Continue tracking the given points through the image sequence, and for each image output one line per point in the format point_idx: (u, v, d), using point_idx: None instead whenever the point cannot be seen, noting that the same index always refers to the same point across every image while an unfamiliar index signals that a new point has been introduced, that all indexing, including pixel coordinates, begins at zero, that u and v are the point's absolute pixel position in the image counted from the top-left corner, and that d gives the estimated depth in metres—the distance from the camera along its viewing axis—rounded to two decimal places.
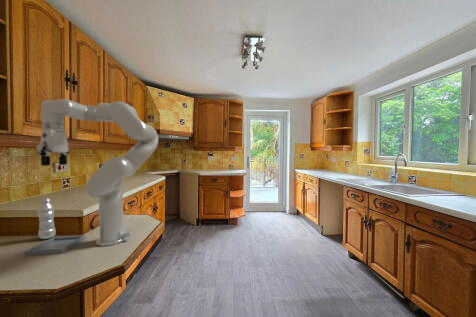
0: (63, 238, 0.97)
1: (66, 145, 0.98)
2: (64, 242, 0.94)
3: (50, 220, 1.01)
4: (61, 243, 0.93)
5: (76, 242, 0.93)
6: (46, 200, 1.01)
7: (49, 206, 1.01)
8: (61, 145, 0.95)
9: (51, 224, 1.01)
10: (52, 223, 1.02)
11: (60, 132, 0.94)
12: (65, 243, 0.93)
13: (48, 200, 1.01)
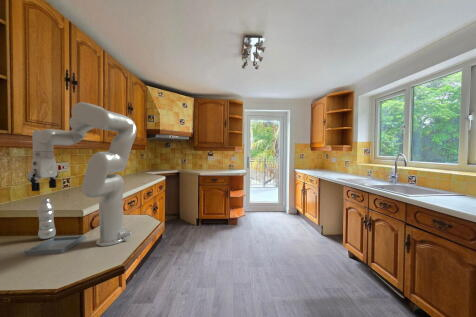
0: (63, 238, 0.97)
1: (55, 170, 1.06)
2: (64, 242, 0.94)
3: (50, 220, 1.01)
4: (61, 243, 0.93)
5: (76, 242, 0.93)
6: (46, 200, 1.01)
7: (49, 206, 1.01)
8: (51, 171, 1.03)
9: (51, 224, 1.01)
10: (52, 223, 1.02)
11: (50, 159, 1.02)
12: (65, 243, 0.93)
13: (48, 200, 1.01)
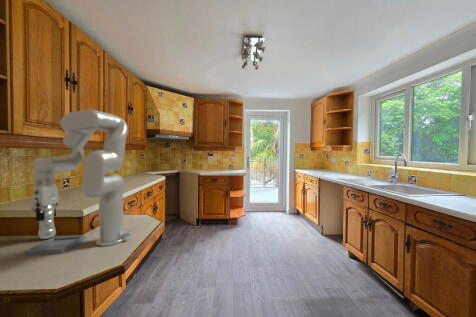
0: (63, 238, 0.97)
1: (57, 196, 1.06)
2: (64, 242, 0.94)
3: (50, 219, 1.01)
4: (61, 243, 0.93)
5: (76, 242, 0.93)
6: None
7: (49, 206, 1.01)
8: (52, 198, 1.03)
9: (51, 224, 1.01)
10: (52, 223, 1.02)
11: (51, 186, 1.02)
12: (65, 243, 0.93)
13: None
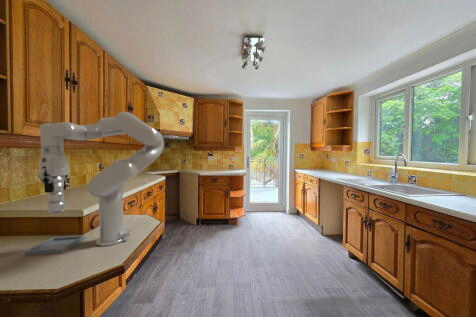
0: (63, 238, 0.97)
1: (67, 167, 0.95)
2: (64, 242, 0.94)
3: (59, 192, 0.91)
4: (61, 243, 0.93)
5: (76, 242, 0.93)
6: None
7: (58, 177, 0.90)
8: (61, 168, 0.92)
9: (61, 197, 0.91)
10: (62, 196, 0.92)
11: (60, 155, 0.92)
12: (65, 243, 0.93)
13: None
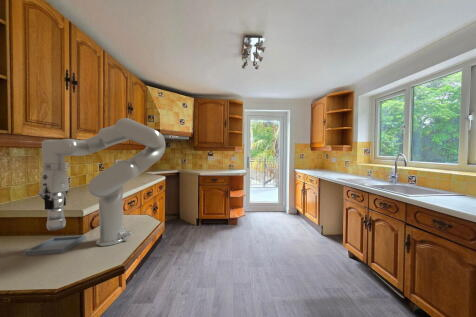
0: (63, 238, 0.97)
1: (67, 183, 0.95)
2: (64, 242, 0.94)
3: (59, 208, 0.90)
4: (61, 243, 0.93)
5: (76, 242, 0.93)
6: None
7: (58, 194, 0.90)
8: (62, 184, 0.92)
9: (61, 214, 0.90)
10: (62, 213, 0.91)
11: (61, 171, 0.91)
12: (65, 243, 0.93)
13: None
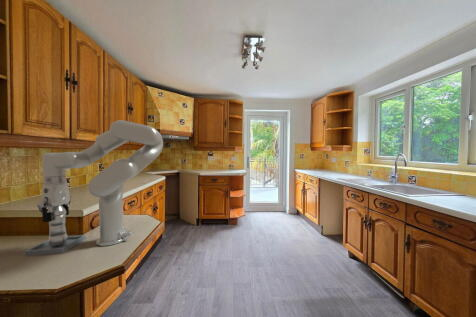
0: None
1: (68, 195, 0.95)
2: None
3: (61, 224, 0.90)
4: None
5: (76, 242, 0.93)
6: None
7: (60, 209, 0.90)
8: (63, 197, 0.92)
9: (62, 229, 0.91)
10: (63, 228, 0.91)
11: (62, 184, 0.91)
12: (65, 243, 0.93)
13: None
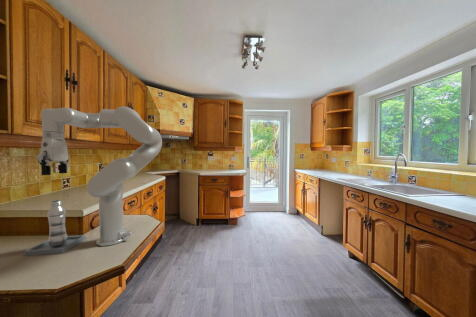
0: None
1: (66, 153, 0.96)
2: None
3: (61, 224, 0.90)
4: None
5: (76, 242, 0.93)
6: (57, 203, 0.90)
7: (60, 210, 0.90)
8: (62, 154, 0.93)
9: (62, 229, 0.91)
10: (63, 228, 0.91)
11: (60, 141, 0.93)
12: (65, 243, 0.93)
13: (59, 203, 0.91)
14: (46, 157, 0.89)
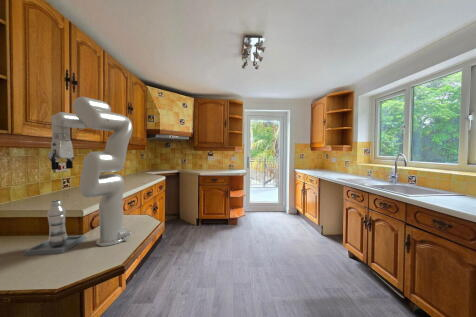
0: None
1: (72, 152, 1.15)
2: None
3: (61, 224, 0.90)
4: None
5: (76, 242, 0.93)
6: (57, 203, 0.90)
7: (60, 209, 0.90)
8: (68, 152, 1.12)
9: (62, 229, 0.91)
10: (63, 228, 0.91)
11: (67, 141, 1.11)
12: (65, 243, 0.93)
13: (59, 203, 0.91)
14: (55, 155, 1.07)
